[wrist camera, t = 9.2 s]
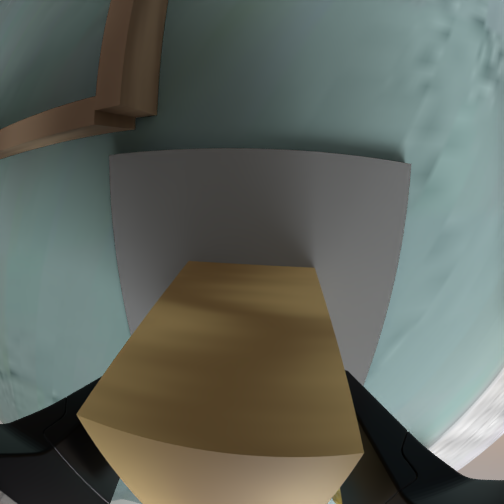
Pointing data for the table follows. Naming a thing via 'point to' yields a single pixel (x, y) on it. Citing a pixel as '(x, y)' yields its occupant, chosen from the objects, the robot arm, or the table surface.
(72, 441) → the robot arm
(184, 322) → the ochre block
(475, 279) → the table surface
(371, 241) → the mat
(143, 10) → the wooden picture frame
